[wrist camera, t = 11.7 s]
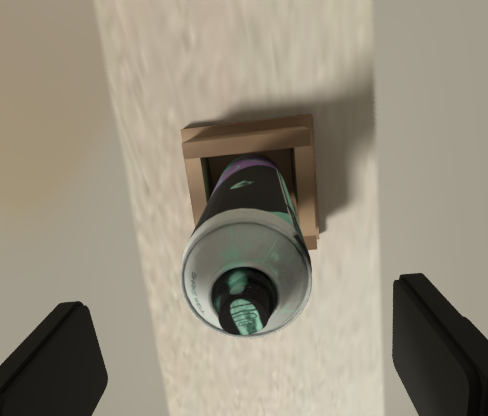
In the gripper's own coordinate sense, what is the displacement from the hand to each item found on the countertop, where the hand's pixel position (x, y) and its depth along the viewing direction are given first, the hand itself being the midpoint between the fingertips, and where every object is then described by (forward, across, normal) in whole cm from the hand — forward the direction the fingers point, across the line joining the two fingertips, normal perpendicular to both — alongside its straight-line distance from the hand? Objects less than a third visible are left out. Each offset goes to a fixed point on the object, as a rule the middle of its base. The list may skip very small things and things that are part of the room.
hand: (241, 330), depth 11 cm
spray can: (+21, 0, +1) cm, 21 cm away
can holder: (+22, 0, +1) cm, 22 cm away
